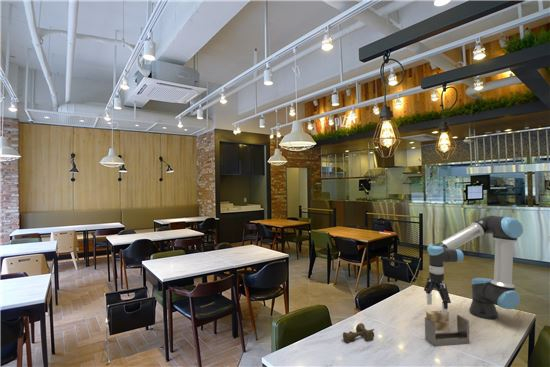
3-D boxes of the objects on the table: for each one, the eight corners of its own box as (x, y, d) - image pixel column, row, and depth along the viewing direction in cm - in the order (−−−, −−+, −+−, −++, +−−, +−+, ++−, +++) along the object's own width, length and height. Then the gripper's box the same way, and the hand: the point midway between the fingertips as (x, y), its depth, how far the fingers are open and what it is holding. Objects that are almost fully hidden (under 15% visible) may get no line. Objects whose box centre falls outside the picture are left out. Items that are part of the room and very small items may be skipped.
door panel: (445, 327, 171) (444, 310, 171) (449, 329, 168) (448, 312, 168) (426, 328, 170) (426, 311, 170) (430, 331, 167) (429, 313, 167)
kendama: (339, 338, 161) (368, 330, 168) (350, 347, 152) (380, 339, 160) (339, 328, 161) (368, 320, 168) (349, 336, 152) (379, 328, 159)
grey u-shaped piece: (459, 336, 160) (459, 314, 160) (469, 343, 153) (468, 320, 153) (425, 339, 158) (424, 317, 158) (433, 346, 151) (433, 323, 151)
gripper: (417, 267, 181) (417, 300, 181) (445, 279, 157) (445, 318, 156) (428, 266, 182) (429, 300, 182) (457, 279, 157) (458, 318, 157)
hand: (436, 309), depth 169 cm, fingers open, 13 cm apart
